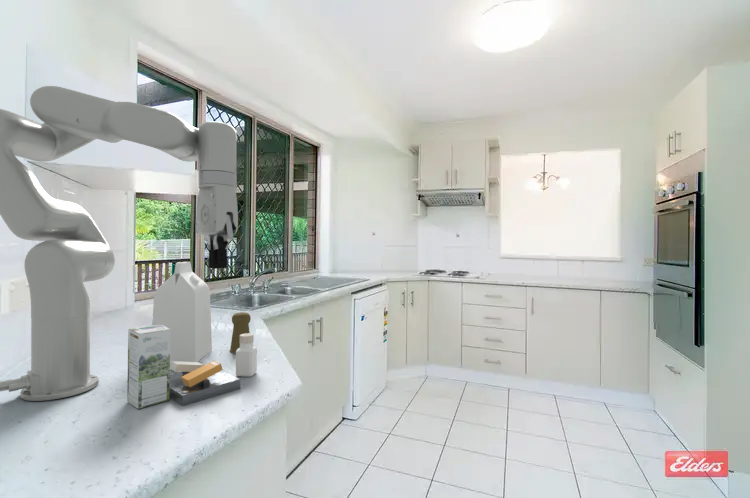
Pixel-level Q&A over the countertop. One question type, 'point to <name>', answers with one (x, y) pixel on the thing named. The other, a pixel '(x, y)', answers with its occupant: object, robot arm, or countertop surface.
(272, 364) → the countertop surface
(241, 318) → the pepper shaker
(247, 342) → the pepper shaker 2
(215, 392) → the breaker panel
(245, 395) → the countertop surface
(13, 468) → the countertop surface
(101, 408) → the countertop surface
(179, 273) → the milk
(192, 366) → the rocker white
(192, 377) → the rocker orange
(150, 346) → the syrup box
